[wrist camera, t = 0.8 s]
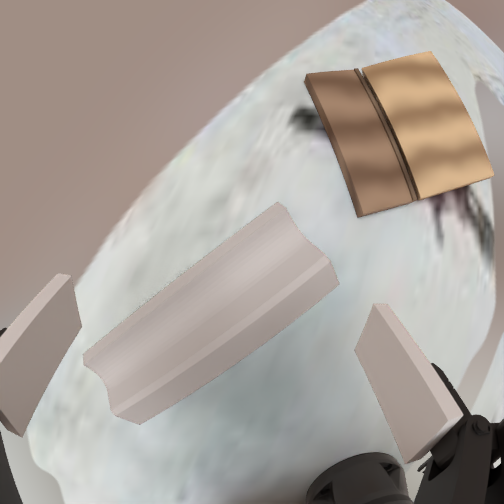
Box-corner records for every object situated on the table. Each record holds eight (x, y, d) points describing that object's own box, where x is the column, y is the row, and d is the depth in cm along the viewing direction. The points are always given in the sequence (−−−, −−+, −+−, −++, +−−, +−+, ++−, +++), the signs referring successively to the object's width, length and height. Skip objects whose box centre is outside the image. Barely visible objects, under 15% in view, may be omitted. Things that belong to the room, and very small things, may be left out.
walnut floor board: (409, 203, 33) (417, 199, 31) (357, 217, 33) (364, 213, 30) (353, 77, 34) (358, 68, 32) (304, 82, 34) (306, 72, 32)
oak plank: (489, 178, 28) (494, 175, 26) (418, 200, 33) (421, 198, 31) (429, 58, 29) (430, 51, 27) (362, 75, 34) (361, 68, 32)
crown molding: (277, 205, 34) (280, 196, 30) (339, 286, 33) (349, 287, 29) (87, 353, 32) (73, 360, 28) (142, 424, 31) (133, 436, 28)
